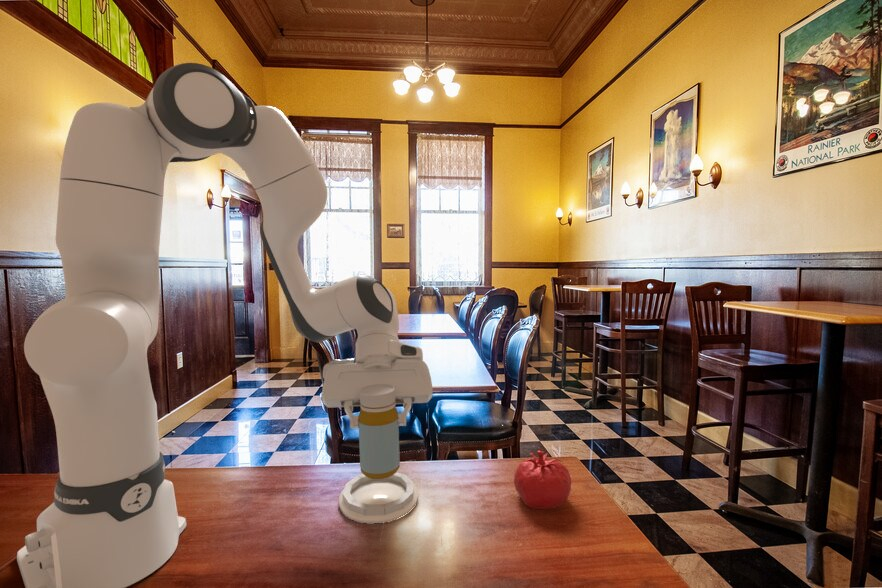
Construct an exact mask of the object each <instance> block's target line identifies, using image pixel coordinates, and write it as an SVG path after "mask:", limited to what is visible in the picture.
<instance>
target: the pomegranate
mask: <svg viewBox="0 0 882 588" xmlns="http://www.w3.org/2000/svg"><path fill="white" fill-rule="evenodd" d="M536 452H537V455H538V457H537V456H536V455H535V454H534V453H533V452H531V453H529V452H528V455H530V456H531V458H528V459H524V460H523V461H522V462H520V463H519V465H518V467H517V468H516V470H515V472H514V479H513V482H514V483H513V484H514V487H515V490H516V492H517V493H518V495H519V497H520V499H521V500H522V502H523V503H524V504H525V505H526V506H527V507H528V508H531V509H534V510H550V509H551V510H552V509H553V508H558V507H560V506H562V505H564V503H566V501H567V500H568V498H569V496H570V494H571V491H572V477H571V475H570V473H569V469H568V468H567V467H566V466H565V465H564V464H562V463H560V462H562V460H560V459H559V458H558V459H557V458H553V459H550V458H547V457H548V455H549V452H547V453H545V451H542V450H537V451H536ZM544 453H545V454H544Z"/></svg>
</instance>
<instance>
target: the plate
mask: <svg viewBox="0 0 882 588" xmlns="http://www.w3.org/2000/svg"><path fill="white" fill-rule="evenodd" d="M418 492H419V491H418V489H417V487H416V485H415V483H414V481H412V479H411V478H409V477H408V476H407V475H406V474H405V473H401V472H398V471H397V472H396V473H395V474H394V475H392V476H390V477H388V478H384V479H371V478H368V477H366V476H365V475H364V474H363V473H361V474H358V475H356V476H354V477H353V478H351V479H350V480H349V481H347V482H346V483H345V486H344V488H343V489H342V490H341V492H340V494H339V497H338V501H339V502H338V504H339V505H338V507H339V509H340V512H341V513H342V514H343V516H344V517H345V518H347V517H348V518H347V519H349V520H350V519H351V521H352V520H354V521H353V522H355V521H357V522H356V523H358V522H361V523H360V524H363V523H367V524H366V525H375V524H374V523H383V522H388V521H391V520H394V519H397V518H399V517H401V516H403V515H405V514H406V513H408V512H409V511H410V510H411V509H412V508H413V507H414V506H415V504H416V502H417V503H418V500H419V496H418V495H419V493H418ZM417 499H418V500H417ZM416 505H417V504H416ZM415 507H416V506H415ZM388 523H389V522H388ZM383 524H384V523H383Z"/></svg>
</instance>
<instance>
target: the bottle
mask: <svg viewBox="0 0 882 588" xmlns="http://www.w3.org/2000/svg"><path fill="white" fill-rule="evenodd" d="M360 403H361V404H360V406H359V407H360V410H359V414H358V416H359V417H358V418H359V421H358V422H359V428H358V443H359V445H358V446H359V467H360V471H361V474H364V475H365V476H366V477H368V478H371V479H384V478H388V477H390V476H392V475H394V474H395V473H396V472H398V470H399V469H400V463H401V460H400V439H399V438H400V431H399V427H400V426H398V413H399V411H398V409H397V406H396V404H395V388H394V387H393V386H391V385H387V384H375V385H369V386H366V387H363V388H362V389H361V390H360Z"/></svg>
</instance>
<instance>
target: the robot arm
mask: <svg viewBox="0 0 882 588" xmlns="http://www.w3.org/2000/svg"><path fill="white" fill-rule="evenodd" d="M218 154H221V155H224V156H226V157H228V158H230V159H231V160H232V161H234V162H235V163H236V164H237V165H238V166H239V168H241V170H242V171H244V174H246V177H247V179H248V180H249V183H250V184H251V186H252V188H253V189H255V190H254V191H255V193H256V194H257V196H258V198H259V201H260V205H261V209H262V216H263V218H262V221H261V222H260V224H259V233H260V234H259V235H260V237H261V241H262V243H263V247H264V249H265V252H266V254H267V257H268V259H269V262H270V265H271V267H272V268H273V271H274V273H275V275H276V276H275V277H276V278H277V280H278V283H279V285H280V287H281V289H282V292H283V295H284V297H285V300H286V302H287V303H288V307H289V311H290V314H291V319H292V322H293V325H294V328H295V330H296V331H297V332H298V333H299V334H300V335H301V336H302V337H303V338H305V339H307V340H309V341H311V342H315V343H318V344H319V343H322V342H324V341H327V340H329V339H333V338H334V337H336V336H337V335H340V334H343V333H346V332H349V331H353V330H356V331H357V339H356V341H355V358H345V359H332V360H331V361H329V362H327V363H326V364H324V366H323V368H322V378H323V384H322V391H321V400H322V403H323V404H324V406H325V407H326V408H344V412H345V414H346V416H347V417H348V419H349V429H350V430H355V429H359V422H358V421H359V418H358V417H359V415H354V413H353V411H354V407H360V404H361V403H360V390H361V389H362V388H363V387H366V386H369V385H375V384H387V385H391V386H393V387H394V388H395V405H403V411H402V412H400V413H399V412H398V426H399V427H401V426H402V427H406V426H407V416H408V415H409V413H410V411H411V409H412V404H425V403H429V402H430V400H431V399H432V397H433V382H432V377H431V373H430V369H429V366H428V365H427V363H426V362H425V361H424V354H423V352H424V351H423V349H422V348H421V347H419V346H414V345H411V344H406V343H403V342H400V339H399V336H398V332H399V329H400V320H399V312H398V306H397V302H396V298H395V295H394V293H392V291H391V290H390V289H389V288H387V287H385V285H384V284H383V283H382V282H381V281H379V280H377V279H376V278H374V277H372V276H370V275H368V274H364V273H363V274H359V275H355V276H351V277H349V278H347V279H343V280H341V281H339V282H336V283H334V284H331V285H329V286H326V287H325V286H324V287H323V288H315V287H313V286H312V285H311V282H310V280H309V277H308V275H307V272H306V270H305V268H304V265H303V262H302V260H301V257H300V255H299V250H298V247H299V246H298V245H299V241H300V240H301V237H302V236H303V235H304V233H306V232H307V230H308V229H309V228H310V227H311V226H313V224H314V223H315V222H316V221H317V220H318V219H319V218H320V216H321V215H322V214H323V212H324V210H325V208H326V204H327V201H328V187H327V184H326V182H325V179H324V176H323V174H322V171H320V168H319V167H318V164H317V163H316V161H315V159H314V157H313V155H312V154H311V151H310V150H309V148H308V146H307V145H306V144H305V141H304V139H302V137H301V136H300V134H299V132H298V131H297V130H296V128H295V126H293V124H292V123H291V122H290V120H289V119H288V118H287V116H286V115H285V114H284V112H282V111H281V110H280V109H278V108H276V107H273V106H271V105H255V104H254V102H253V101H252V99H250V97H248V96H247V95H245V94H244V93H243V92H242V91H240V90H239V89H238V88H237V87H236V86H235V84H234V83H232V81H230V80H229V79H228V78H227V77H226V76H225V75H224V74H222V73H221V72H219V71H218V70H216V69H214V68H213V67H210V66H208V65H205V64H202V63H198V62H185V63H178V64H175V65H173V66H171V67H169V68H167V69H166V70H164V71H162V73H161V74H160V75H159V76H158V78H157V79H156V80H155V83H154V86H153V88H152V89H151V90H150V92H149V94H148V96H147V97H146V99H145V101H144V103H142V104H141V105H139V106H130V107H129V106H125V105H122V104H120V103H119V104H117V103H113V102H94V103H88V104H85V105H83V106H81V107H80V108H78V110H77V111H76V112H75V114H74V116H73V119H72V122H71V124H70V127H69V130H68V133H67V136H66V142H65V145H64V149H63V153H62V160H61V165H60V177H59V185H58V186H59V187H58V199H57V200H58V201H57V215H56V228H55V245H56V247H57V250H58V252H59V256H60V259H61V260H60V261H61V265H62V271H63V279H64V287H65V288H64V289H65V297H64V299H62V300H60V301H57V302H55V303H54V304H52V305H51V306H49V307H47V308H46V309H45V310H44V311H43V312H42V313H41V314H40V315H39V316H38V317H37V319H35V321H34V322H33V323H32V325H31V327H30V328H29V330H28V332H27V334H26V336H25V339H24V343H23V350H24V351H23V352H24V356H25V359H26V361H27V364H28V365H29V367H30V368H31V369H32V371H34V373H35V374H37V375H38V376H39V379H40V382H41V385H42V388H43V391H44V395H45V398H46V399H47V402H48V405H49V407H50V408H49V409H50V410H51V414H52V416H53V420H54V425H55V432H56V433H55V434H56V444H57V445H56V446H57V457H58V467H59V472H57V473H56V474H57V475H59V476H58V477H57V480H56V485H55V487H54V491H53V492H54V493H53V495H54V499H53V503H51V504H50V505H49V506H48V507H47V508H45V509H44V510H43V511H42V512H40V514H39V515H38V517H37V518H36V531H34V532H32V533H29V534H27V535H26V536H25V538H24V543H25V545H24V546H23V547H21V548H20V549H19V550H18V551H17V553H16V562H17V565H18V568H19V572H20V574H21V577H22V582H23V584H24V587H25V588H127V587H130V586H131V585H134V584H135V583H137V582H140V581H142V580H143V579H144V578H146V577H148V576H149V575H151V574H153V573H154V572H155V571H156V570H158V569H159V568H161V567H162V566H163V565H164V564H165V563H166V562H167V561H168V560H169V559H170V558H171V557H172V556H173V554H174V553H175V551H176V549H177V547H178V543H179V537H180V534H182V532H183V531H184V530H185V529H186V527H187V520H186V517H183V516H181V515H179V514H178V508H177V502H176V495H175V488H174V484H173V482H172V481H171V480H169V479H165V477H166V474H165V470H166V464H165V460H164V455H163V453H162V452H161V451H160V438H159V422H158V404H157V401H156V399H155V395H154V391H153V388H152V387H153V386H152V382H151V377H150V376H151V375H150V369H149V363H148V350H149V349H148V348H149V346H150V345H151V344H152V342H154V340H155V338H156V336H157V333H158V329H159V317H160V315H159V314H160V243H161V232H162V231H161V230H162V228H161V227H162V218H163V206H164V205H163V204H164V193H165V192H164V190H165V189H164V188H165V177H166V173H167V169H168V166H169V164H170V163H193V162H198V161H202V160H206V159H208V158H210V157H212V156H214V155H218Z"/></svg>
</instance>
